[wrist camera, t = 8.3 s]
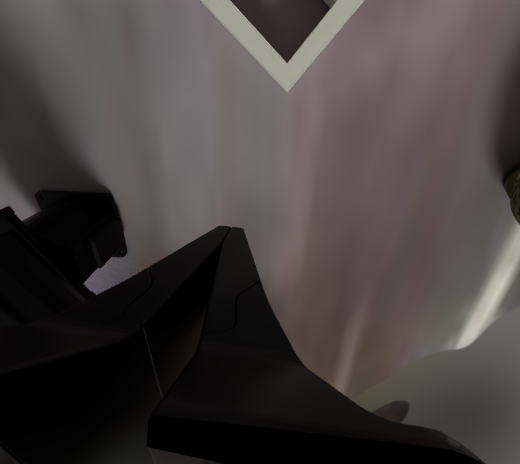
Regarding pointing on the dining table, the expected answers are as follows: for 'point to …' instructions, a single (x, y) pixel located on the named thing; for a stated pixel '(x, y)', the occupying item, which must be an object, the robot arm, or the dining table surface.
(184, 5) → the dining table surface
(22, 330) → the robot arm
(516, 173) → the cup
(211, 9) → the trap box
